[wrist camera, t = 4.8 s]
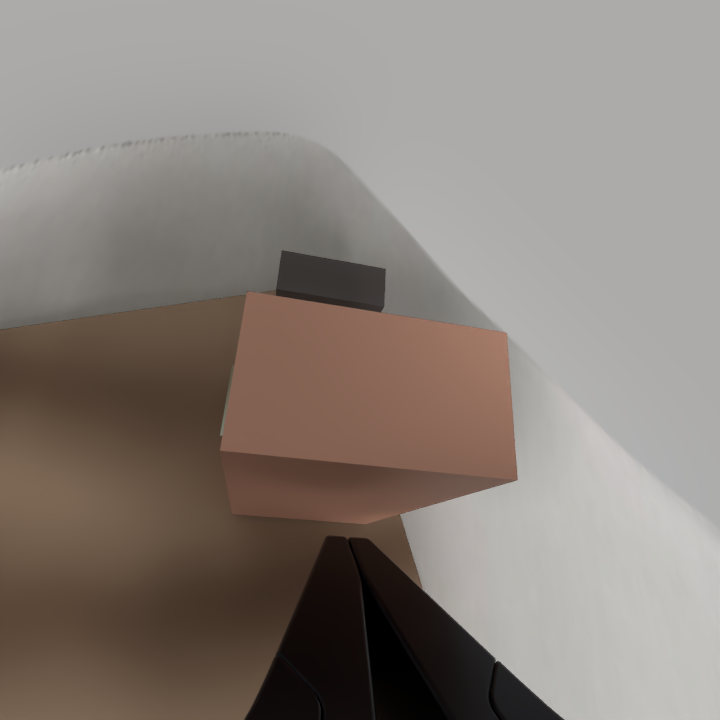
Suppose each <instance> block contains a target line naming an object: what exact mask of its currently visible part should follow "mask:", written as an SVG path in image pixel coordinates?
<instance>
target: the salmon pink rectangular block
mask: <svg viewBox="0 0 720 720" xmlns="http://www.w3.org/2000/svg"><path fill="white" fill-rule="evenodd" d="M220 454H221V459H222V464H223V470H224V475H225V480H226V485H227V491H228V496H229V501H230V507H231V512H232V514H235V515H248V516H261V517H275V518H288V519H301V520H314V521H327V522H341V523H354V524H368V523H371V522H375V521H378V520H381V519H385V518H388V517H392V516H395V515H399V514H402V513H406V512H409V511H413V510H416V509H419V508H423V507H426V506H430V505H433V504H437V503H440V502H444V501H447V500H451V499H454V498H457V497H461V496H464V495H468V494H471V493H475V492H478V491H482V490H485V489H489V488H492V487H495V486H499V485H502V484H506V483H509V482H513V481H516V480H518V479H517V466H516V452H515V439H514V425H513V412H512V398H511V385H510V371H509V358H508V344H507V333H505V332H499V331H493V330H486V329H480V328H474V327H468V326H461V325H455V324H449V323H443V322H436V321H430V320H424V319H418V318H411V317H405V316H399V315H393V314H387V313H380V312H374V311H368V310H362V309H355V308H349V307H343V306H337V305H330V304H324V303H318V302H312V301H305V300H299V299H293V298H287V297H280V296H274V295H268V294H262V293H255V292H249V291H247V294H246V300H245V306H244V312H243V318H242V324H241V330H240V335H239V341H238V347H237V353H236V359H235V365H234V371H233V377H232V382H231V388H230V394H229V400H228V406H227V412H226V418H225V424H224V429H223V435H222V441H221V447H220Z"/></svg>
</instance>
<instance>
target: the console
mask: <svg viewBox="0 0 720 720" xmlns="http://www.w3.org/2000/svg"><path fill="white" fill-rule="evenodd" d="M261 293H262V294H268V295H274V296H280V297H287V298H293V299H299V300H305V301H312V302H318V303H324V304H330V305H337V306H343V307H349V308H355V309H362V310H368V311H374V312H380V313H381V311H382V309H383V307H384V294H385V269H383V268H378V267H372V266H366V265H361V264H355V263H349V262H344V261H338V260H333V259H327V258H321V257H316V256H310V255H305V254H299V253H293V252H288V251H282V253H281V261H280V268H279V275H278V282H277V289H276V290H275V291H268V292H261ZM245 300H246V295H240V296H233V297H226V298H219V299H212V300H205V301H198V302H191V303H184V304H177V305H170V306H163V307H156V308H149V309H142V310H135V311H128V312H121V313H114V314H107V315H100V316H93V317H86V318H79V319H72V320H65V321H58V322H51V323H44V324H37V325H30V326H23V327H16V328H9V329H2V330H0V720H244V719H245V717H246V715H247V713H248V712H249V710H250V708H251V706H252V704H253V702H254V700H255V698H256V696H257V694H258V692H259V690H260V688H261V686H262V683H263V681H264V679H265V677H266V675H267V672H268V670H269V668H270V665H271V663H272V661H273V658H274V657H275V655H276V652H277V650H278V648H279V645H280V643H281V640H282V638H283V636H284V633H285V631H286V629H287V626H288V624H289V622H290V619H291V617H292V615H293V612H294V610H295V607H296V605H297V603H298V600H299V598H300V596H301V593H302V591H303V589H304V586H305V584H306V581H307V579H308V577H309V574H310V572H311V570H312V567H313V565H314V563H315V560H316V558H317V556H318V553H319V551H320V548H321V546H322V544H323V541H324V539H325V537H326V536H328V535H333V536H344V537H346V538H347V539H348V538H349V537H361V538H368V539H369V540H371V541H372V542H373V543H374V544H375V545H376V546H377V547H378V548H379V549H380V550H381V551H382V552H383V553H384V554H385V555H387V556H388V557H389V558H390V559H391V560H392V561H393V562H394V563H395V564H396V565H397V566H398V567H399V568H400V569H401V570H402V571H403V572H404V573H406V574H407V575H408V576H409V577H410V578H411V579H412V580H413V581H414V582H415V583H416V584H417V585H418V586H419V587H420V588H421V589H422V586H421V582H420V579H419V576H418V572H417V569H416V566H415V563H414V559H413V556H412V553H411V550H410V546H409V543H408V540H407V536H406V533H405V530H404V527H403V523H402V520H401V517H400V514H399V515H395V516H392V517H388V518H385V519H381V520H378V521H375V522H371V523H368V524H354V523H341V522H327V521H314V520H301V519H288V518H275V517H261V516H248V515H235V514H232V512H231V507H230V501H229V496H228V491H227V485H226V480H225V475H224V470H223V464H222V459H221V454H220V447H221V441H222V435H223V429H224V424H225V418H226V412H227V406H228V400H229V394H230V388H231V382H232V377H233V371H234V365H235V359H236V353H237V347H238V341H239V335H240V330H241V324H242V318H243V312H244V306H245ZM422 590H423V589H422Z"/></svg>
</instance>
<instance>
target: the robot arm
mask: <svg viewBox="0 0 720 720" xmlns="http://www.w3.org/2000/svg"><path fill="white" fill-rule="evenodd" d="M495 662H496V660H495V658H494V657H493V656H492V655H491V654H490V653H489V652H488V651H487V650H486V649H485V648H484V647H483V646H482V645H481V644H479V643H478V642H477V641H476V640H475V639H474V638H473V637H472V636H471V635H470V634H469V633H468V632H467V631H466V630H465V629H464V628H463V627H462V626H460V625H459V624H458V623H457V622H456V621H455V620H454V619H453V618H452V617H451V616H450V615H449V614H448V613H447V612H446V611H445V610H444V609H443V608H441V607H440V606H439V605H438V604H437V603H436V602H435V601H434V600H433V599H432V598H431V597H430V596H429V595H428V594H427V593H426V592H425V591H423V590H422V589H421V588H420V587H419V586H418V585H417V584H416V583H415V582H414V581H413V580H412V579H411V578H410V577H409V576H408V575H407V574H406V573H404V572H403V571H402V570H401V569H400V568H399V567H398V566H397V565H396V564H395V563H394V562H393V561H392V560H391V559H390V558H389V557H388V556H387V555H385V554H384V553H383V552H382V551H381V550H380V549H379V548H378V547H377V546H376V545H375V544H374V543H373V542H372V541H371V540H369V539H368V538H361V537H349V538H348V539H347V538H346V537H344V536H333V535H328V536H326V537H325V539H324V541H323V544H322V546H321V548H320V551H319V553H318V556H317V558H316V560H315V563H314V565H313V567H312V570H311V572H310V574H309V577H308V579H307V581H306V584H305V586H304V589H303V591H302V593H301V596H300V598H299V600H298V603H297V605H296V607H295V610H294V612H293V615H292V617H291V619H290V622H289V624H288V626H287V629H286V631H285V633H284V636H283V638H282V640H281V643H280V645H279V648H278V650H277V652H276V655H275V657H274V658H273V661H272V663H271V665H270V668H269V670H268V672H267V675H266V677H265V679H264V681H263V683H262V686H261V688H260V690H259V692H258V694H257V696H256V698H255V700H254V702H253V704H252V706H251V708H250V710H249V712H248V713H247V715H246V717H245V719H244V720H564V719H563V718H562V717H561V716H559V715H558V714H557V713H556V712H555V711H553V710H552V709H551V708H550V707H549V706H547V705H546V704H545V703H544V702H543V701H542V700H541V699H540V698H539V697H537V696H536V695H535V694H534V693H533V692H532V691H531V690H530V689H529V688H528V687H526V686H525V685H524V684H523V683H522V682H521V681H520V680H519V679H518V678H517V677H515V676H514V675H513V674H512V673H511V672H510V671H509V670H508V669H507V668H506V667H505V666H504V665H503V664H502V663H501V662H499V661H497V662H496V663H495Z"/></svg>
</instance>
